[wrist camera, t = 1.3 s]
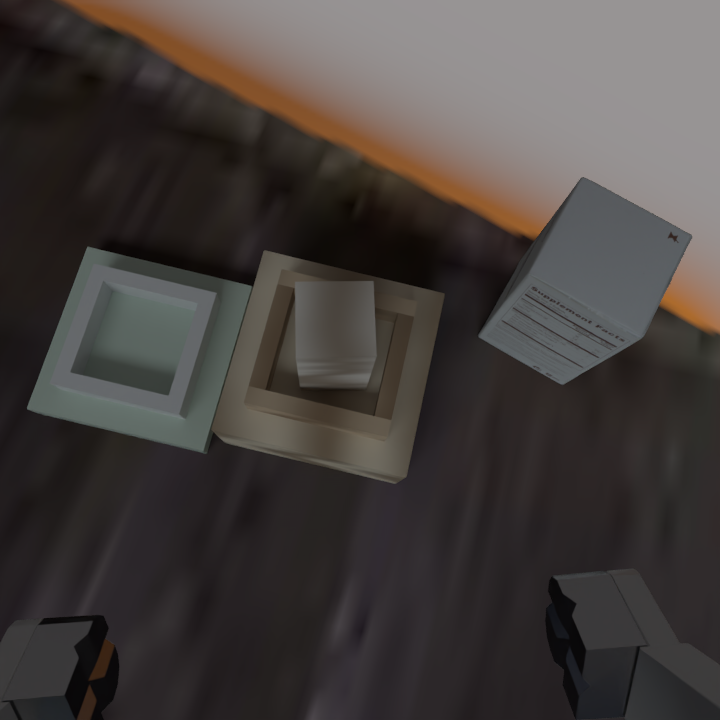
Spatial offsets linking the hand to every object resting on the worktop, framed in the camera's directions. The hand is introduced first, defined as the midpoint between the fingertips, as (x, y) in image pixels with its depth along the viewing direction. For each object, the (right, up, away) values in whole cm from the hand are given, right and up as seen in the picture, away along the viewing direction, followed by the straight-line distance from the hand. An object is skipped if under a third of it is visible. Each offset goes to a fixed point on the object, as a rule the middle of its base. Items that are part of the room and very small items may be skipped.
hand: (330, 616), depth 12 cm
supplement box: (+14, +7, +36) cm, 40 cm away
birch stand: (-2, +3, +34) cm, 34 cm away
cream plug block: (-1, +5, +28) cm, 29 cm away
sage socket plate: (-14, +5, +34) cm, 37 cm away
